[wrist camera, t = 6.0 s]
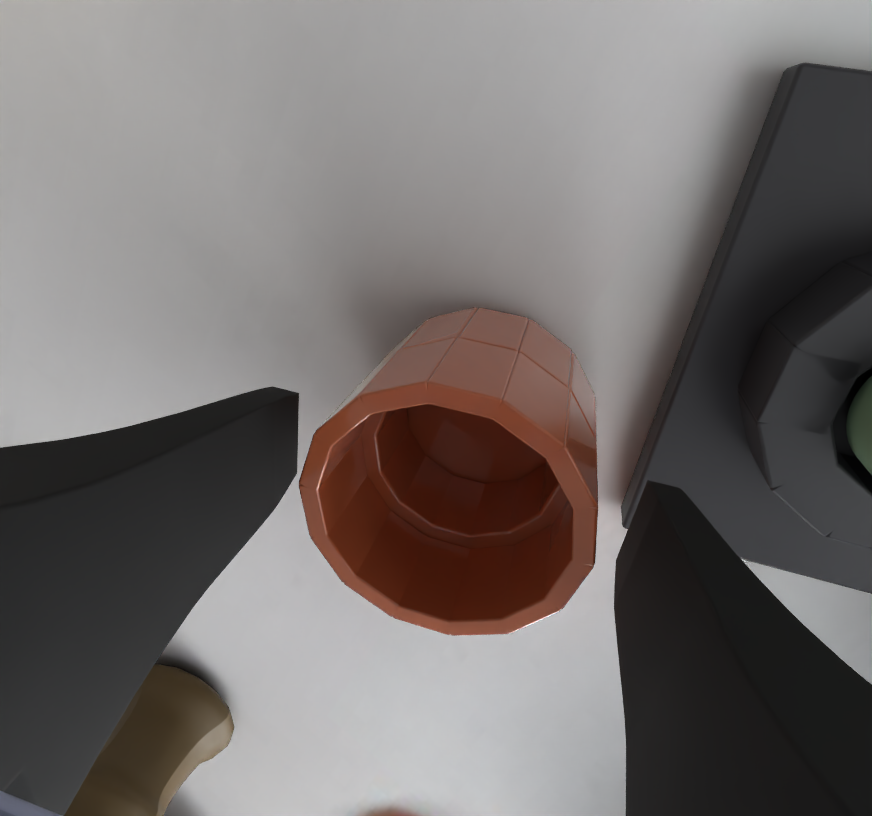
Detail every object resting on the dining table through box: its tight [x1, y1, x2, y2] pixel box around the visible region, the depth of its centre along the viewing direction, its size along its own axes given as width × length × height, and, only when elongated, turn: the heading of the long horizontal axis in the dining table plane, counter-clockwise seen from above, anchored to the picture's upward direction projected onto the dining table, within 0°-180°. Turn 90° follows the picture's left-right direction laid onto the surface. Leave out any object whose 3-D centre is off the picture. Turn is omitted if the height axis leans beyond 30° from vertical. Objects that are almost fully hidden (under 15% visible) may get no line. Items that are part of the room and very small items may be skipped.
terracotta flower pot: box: [299, 307, 598, 636], centre depth 12 cm, size 5×6×5 cm
